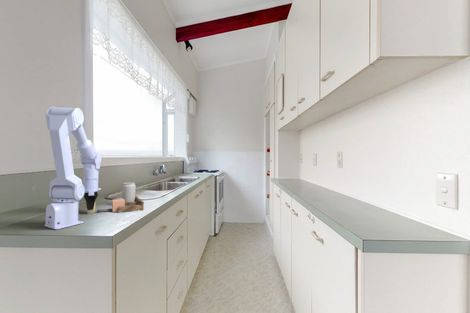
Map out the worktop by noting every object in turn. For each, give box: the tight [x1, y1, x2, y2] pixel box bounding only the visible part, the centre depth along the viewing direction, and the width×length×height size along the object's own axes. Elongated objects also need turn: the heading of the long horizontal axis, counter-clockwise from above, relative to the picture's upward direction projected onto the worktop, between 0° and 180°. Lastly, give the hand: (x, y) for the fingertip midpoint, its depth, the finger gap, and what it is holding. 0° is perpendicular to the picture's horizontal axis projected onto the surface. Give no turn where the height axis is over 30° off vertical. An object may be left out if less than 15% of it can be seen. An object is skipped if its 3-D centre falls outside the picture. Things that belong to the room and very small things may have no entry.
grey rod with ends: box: [86, 198, 125, 215], centre depth 107 cm, size 15×5×6 cm, turn 122°
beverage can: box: [121, 182, 137, 202], centre depth 120 cm, size 6×6×12 cm
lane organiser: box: [117, 195, 145, 213], centre depth 116 cm, size 11×18×4 cm, turn 35°
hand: (90, 208), depth 103 cm, fingers closed on grey rod with ends, 3 cm apart
